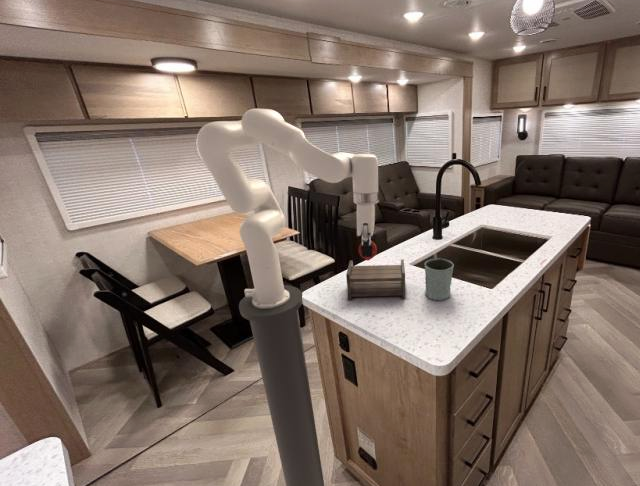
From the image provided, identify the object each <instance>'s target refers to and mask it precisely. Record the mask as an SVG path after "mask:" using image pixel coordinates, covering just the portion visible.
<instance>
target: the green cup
mask: <svg viewBox="0 0 640 486" xmlns="http://www.w3.org/2000/svg"><path fill="white" fill-rule="evenodd" d="M454 267H455V264H454V263H453V262H452V261H451V260H449V259H446V258H431V259H428V260H426V261H425V262H424V272H425V273H424V274H425V276H424V280H425V295H426V297H428V298H429V299H431V300H434V301H444V300H447V299H448V298H449V297H450V295H451V286H452V281H453V279H452V278H453V273H454Z"/></svg>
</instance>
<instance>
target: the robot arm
mask: <svg viewBox="0 0 640 486" xmlns="http://www.w3.org/2000/svg"><path fill="white" fill-rule="evenodd" d="M195 141H196V143H195V144H196V149H197V153H198V155H199V158H200V159H201V161H202V162H203V164H204V165H205V166H206V168H207V170H208V171H209V173H210V174H211V177H213V180H214V181H215V183H216V185H217V186H218V188H219V190H220V192H221V194H222V196H223V197H224V199H225V201H226V202H227V204H228V206H229V207H230V209H231V210H232V211H233V212H235V213H237V214H246V213H249V212H252V211H253V212H254V214H252V215H250V216H248V217H246V218H245V219H243V221H242V222H241V224H240V226H239V236H240V239H241V242H242V243H243V246H244V249H245V251H246V255H247V260H248V263H249V268H250V269H249V270H250V273H251V278H252V283H253V288H245V289H244V291H243V292H244V297H253V299H252V303H253V305H254V306H255V307H257V308H261V309H269V308H275V307H278V306H280V305H282V304H284V303H286V302H287V301H288V300H289V298H290V294H289V292H288V291H287V290H285V289H284V285H285V284H284V281H283V275H282V269H281V261H280V254H279V251H278V248H277V246H276V245H275V243H274V240H273V238H274V237H276V236H277V235H278V234H280V233H281V232H282V231H284V229H285V227H286V216H285V213H284V212H283V211H282V208H281V207H280V205H279V202H278V201H277V199H276V196H275V195H274V193H273V191H272V189H271V187H270V186H269V184H267V183H266V182H265V181H264V180H262V179H259V178H248V177H247V176H246V174H245V172H244V170H243V168H242V166H241V165H240V164H239V163H238V161H237V160H236V159H235V158H234V157H233V156H232V155H231V152H236V151H244V150H247V149H252V148H253V147H257V146H259V145H262V144H263V145H265V146H267V147H268V148H270V149H273V150H275V151H277V152H279V153H280V154H281V155H282V154H283V155H284V156H286V157H288V158H289V159H290V160H291V161H292V162H293V163H294V164H295V165H297V166H298V167H299V168H300V169H301V170H303V171H304V172H306V173H308V174H310V175H312V176H314V177H316V178H318V179H320V180H322V181H324V182H326V183H331V184H337V183H340V182H342V181H344V180H345V179H348V178H352V194H353V195H352V197H353V203H354V204H356V236H357V237H360V236H361V243H362V244H361V243H360V244H361V249H362V257H372V244H371V241H373V242H374V237H373V236H374V231H375V222H376V205H377V204H378V203H379V198H380V197H379V160H378V157H377V156H376V154H372V153H358V154H357V153H351V152H350V153H349V152H345V151H342V152H341V151H340V152H335V153H331V154H330V153H329V152H327V151H324V150H323V149H321V148H319V147H317V146H315V145H314V144H312V143H311V142H310V141H309V140H307V138H306V136H305V133H304V131H303V130H302V129H301V128H299V127H296V126H294V125H292V124H291V123H288V122H287V121H285V119H284V117H283V116H282V114H281V113H279V112H278V111H276V110H274V109H270V108H251V109H250V108H249V109H248V110H247V111H245V112H244V114H243V115H242V117H241V119H240V120H218V121H211V122H208V123H206V124H204V125H203V126H201V128H200V129H199V131H198V132H197V135H196V140H195ZM368 238H369V239H368ZM362 257H361V258H362Z"/></svg>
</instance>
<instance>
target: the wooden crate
mask: <svg viewBox="0 0 640 486" xmlns="http://www.w3.org/2000/svg"><path fill="white" fill-rule="evenodd" d="M345 277H346V289H347V291H346V292H347V300H348V301H351V300H352V298H357V297H392V296H393V297H395V296H396V297H397V296H401V299H403V300H404V299H406V269H405V259H400V264H390V265H389V264H387V265H385V264H384V265H382V264H381V265H379V264H378V265H377V264H376V265H354V261H353V260H349V262H348V265H347V271H346V274H345Z"/></svg>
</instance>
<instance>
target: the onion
mask: <svg viewBox="0 0 640 486" xmlns="http://www.w3.org/2000/svg"><path fill="white" fill-rule="evenodd" d="M368 239H369V238H368ZM361 244H362V242H361V243H360V244H359V246H358V254H359V255H360V257H361V258H362V259H363V260H366V261H370V260H372V259H373V258H375V257H376V255H377V252H378V248H377V244H376V243H375V242H374V240H373V241H371V244H372V257H362V249H361Z"/></svg>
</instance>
